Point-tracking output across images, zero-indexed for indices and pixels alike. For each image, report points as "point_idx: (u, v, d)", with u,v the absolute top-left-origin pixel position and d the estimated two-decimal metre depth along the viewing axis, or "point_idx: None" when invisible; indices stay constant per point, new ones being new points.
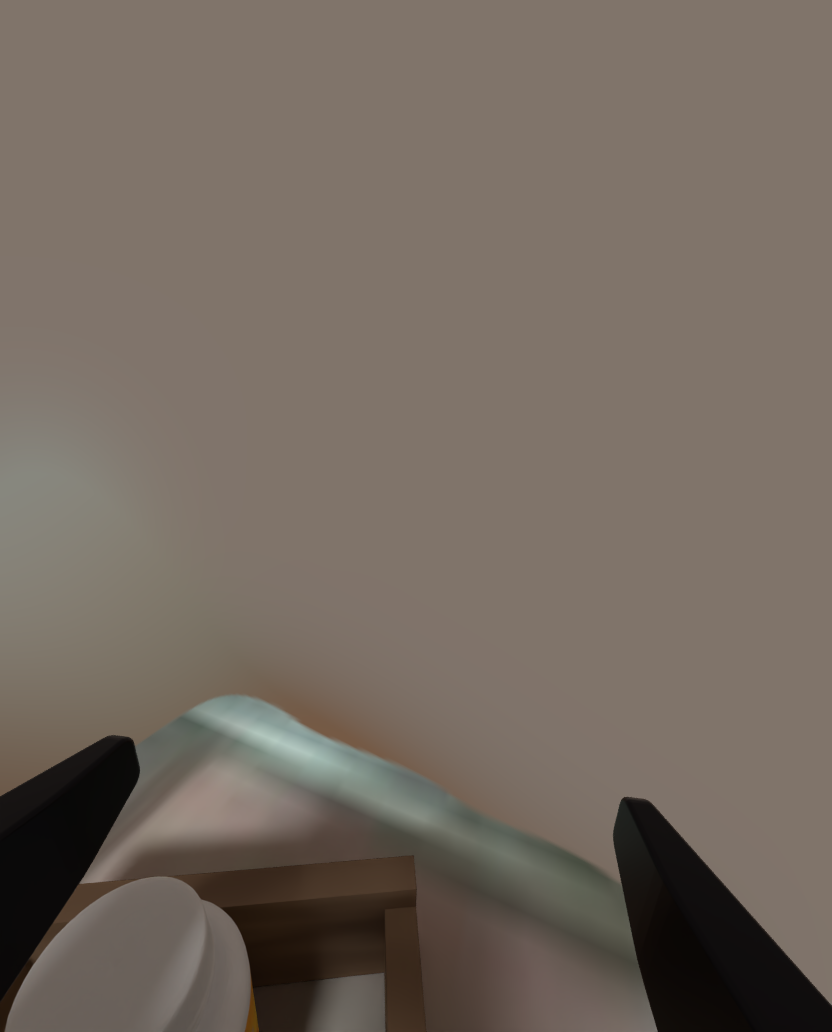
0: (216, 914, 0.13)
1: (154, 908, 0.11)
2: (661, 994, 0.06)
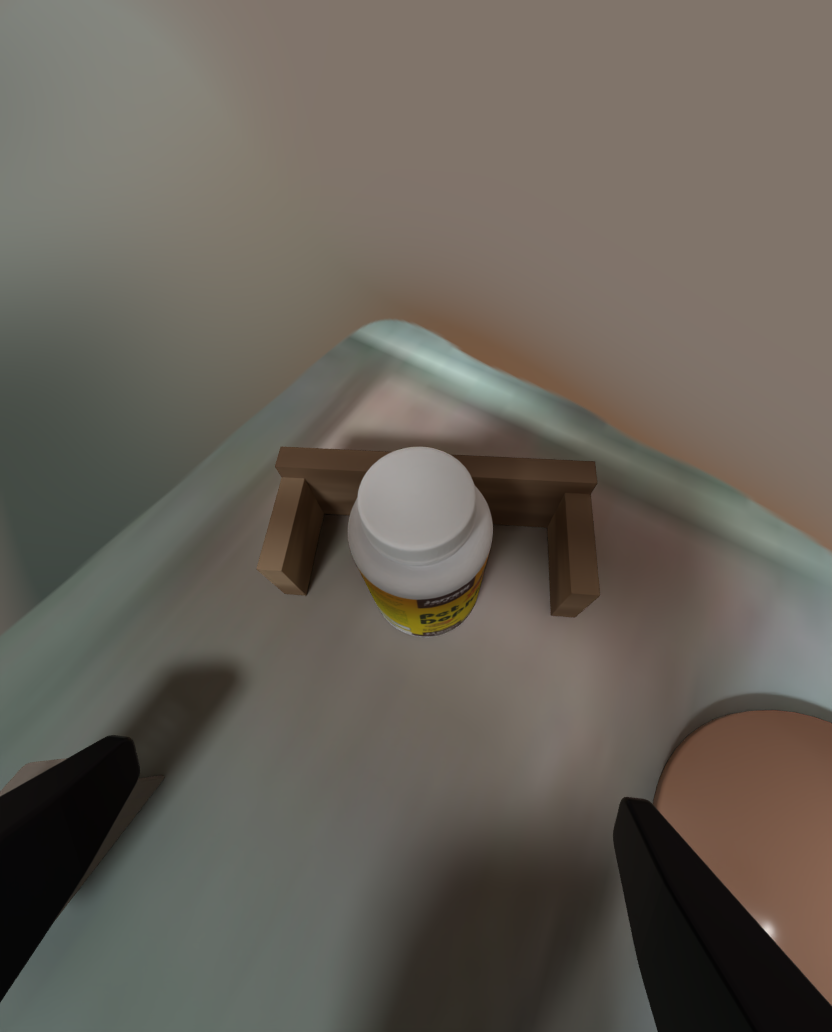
0: None
1: (430, 465, 0.14)
2: (661, 994, 0.06)
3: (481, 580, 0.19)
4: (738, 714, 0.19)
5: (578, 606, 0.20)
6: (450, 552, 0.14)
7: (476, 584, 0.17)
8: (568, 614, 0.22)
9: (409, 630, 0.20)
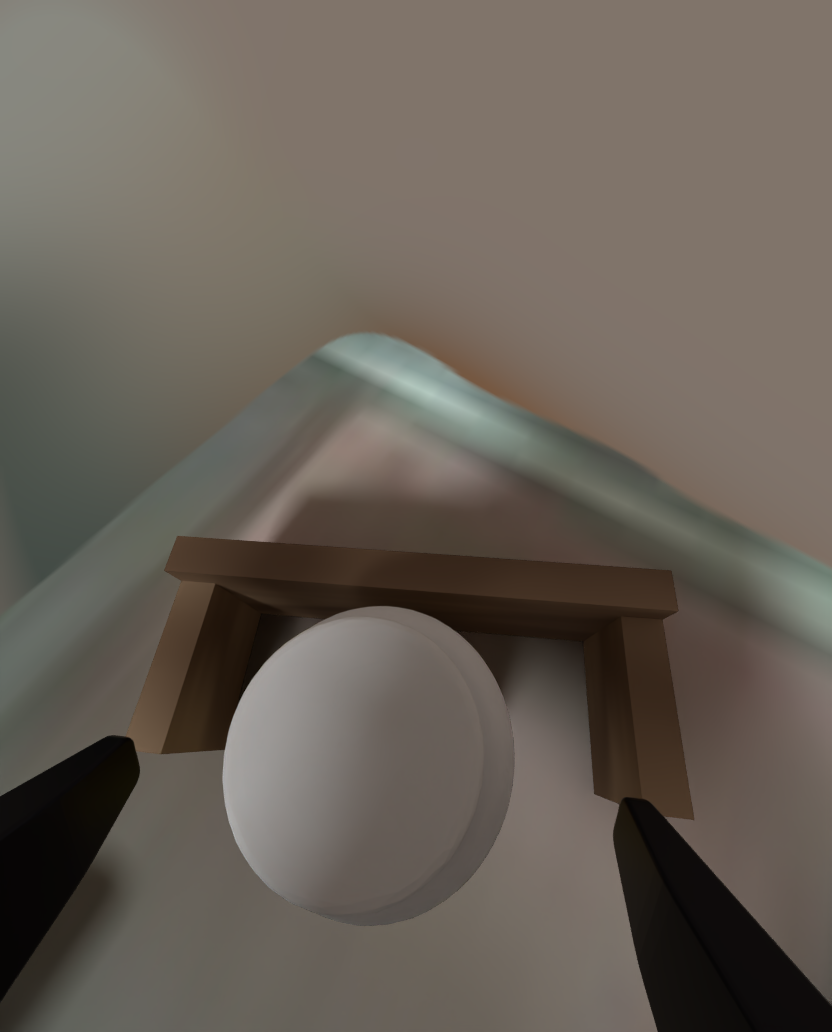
0: (452, 642, 0.09)
1: (387, 668, 0.07)
2: (661, 994, 0.06)
3: None
4: None
5: None
6: None
7: None
8: None
9: None
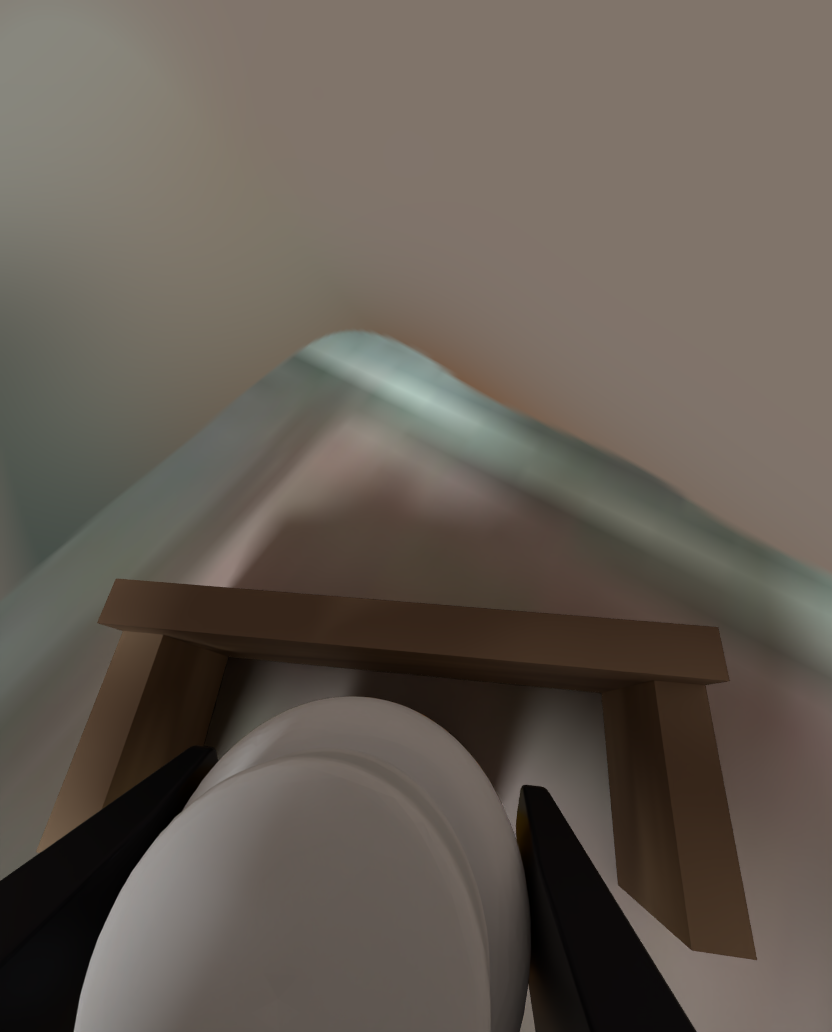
0: (444, 758, 0.07)
1: (340, 856, 0.04)
2: (534, 973, 0.06)
3: None
4: None
5: None
6: None
7: None
8: None
9: None
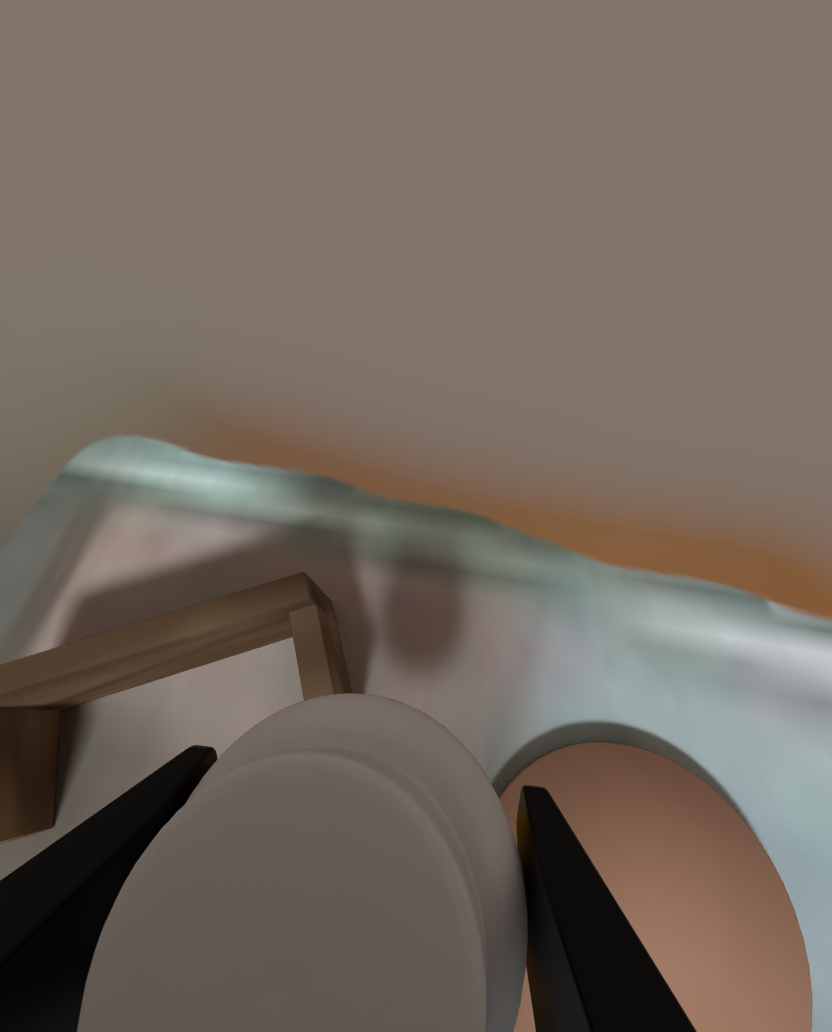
0: (442, 753, 0.07)
1: (338, 848, 0.04)
2: (535, 973, 0.06)
3: None
4: (524, 772, 0.18)
5: None
6: None
7: None
8: None
9: None
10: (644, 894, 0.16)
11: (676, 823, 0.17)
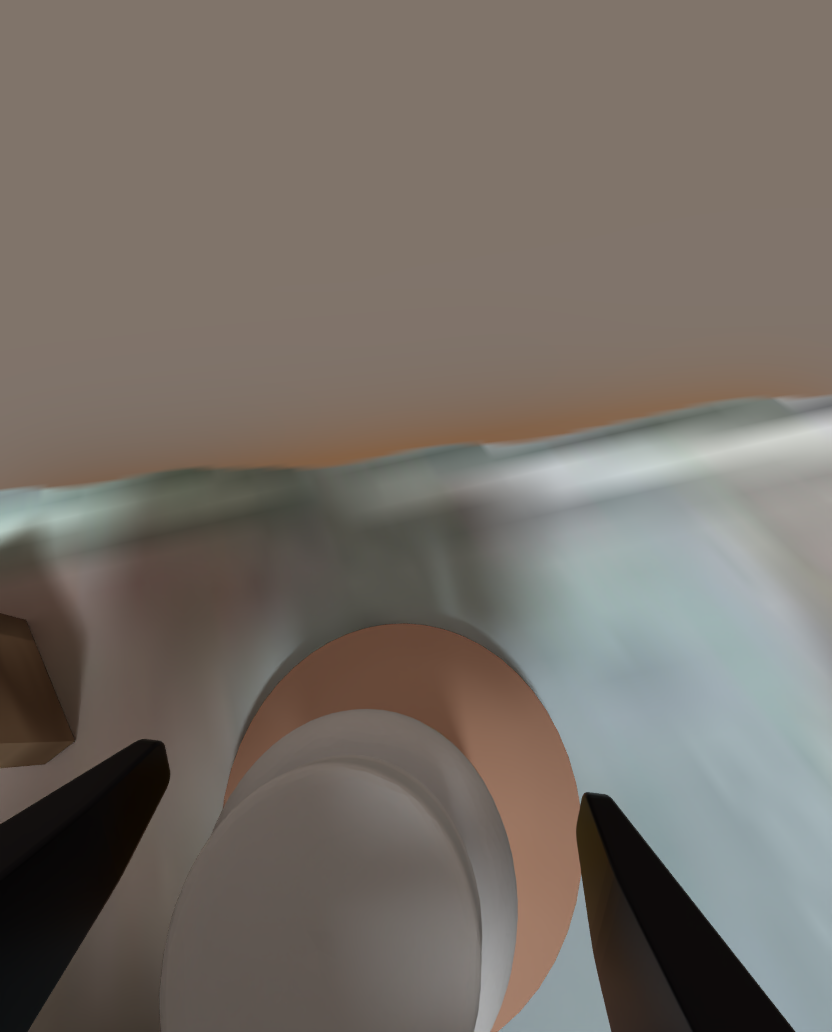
0: (445, 762, 0.08)
1: (363, 840, 0.06)
2: (612, 986, 0.06)
3: None
4: (264, 703, 0.16)
5: (17, 750, 0.15)
6: None
7: None
8: (53, 749, 0.16)
9: None
10: None
11: (425, 682, 0.16)
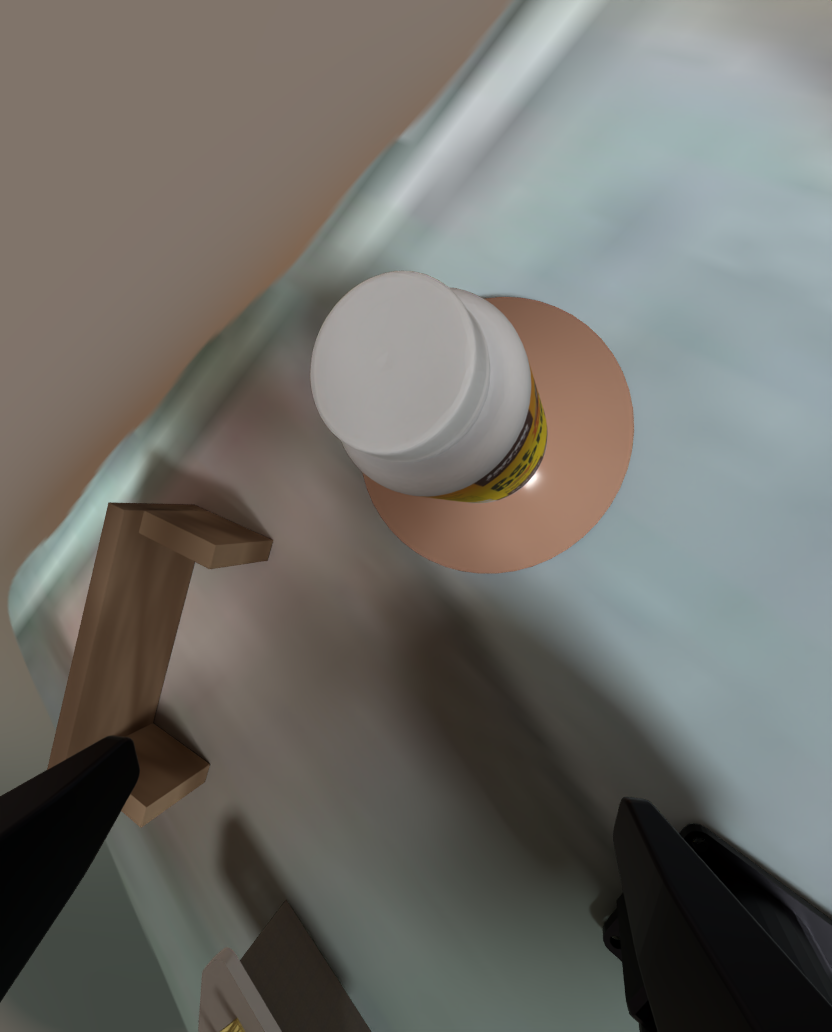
0: None
1: (380, 307, 0.09)
2: (661, 994, 0.06)
3: (539, 401, 0.14)
4: None
5: (244, 549, 0.22)
6: (477, 407, 0.09)
7: (536, 413, 0.12)
8: (265, 548, 0.23)
9: (491, 500, 0.17)
10: None
11: None
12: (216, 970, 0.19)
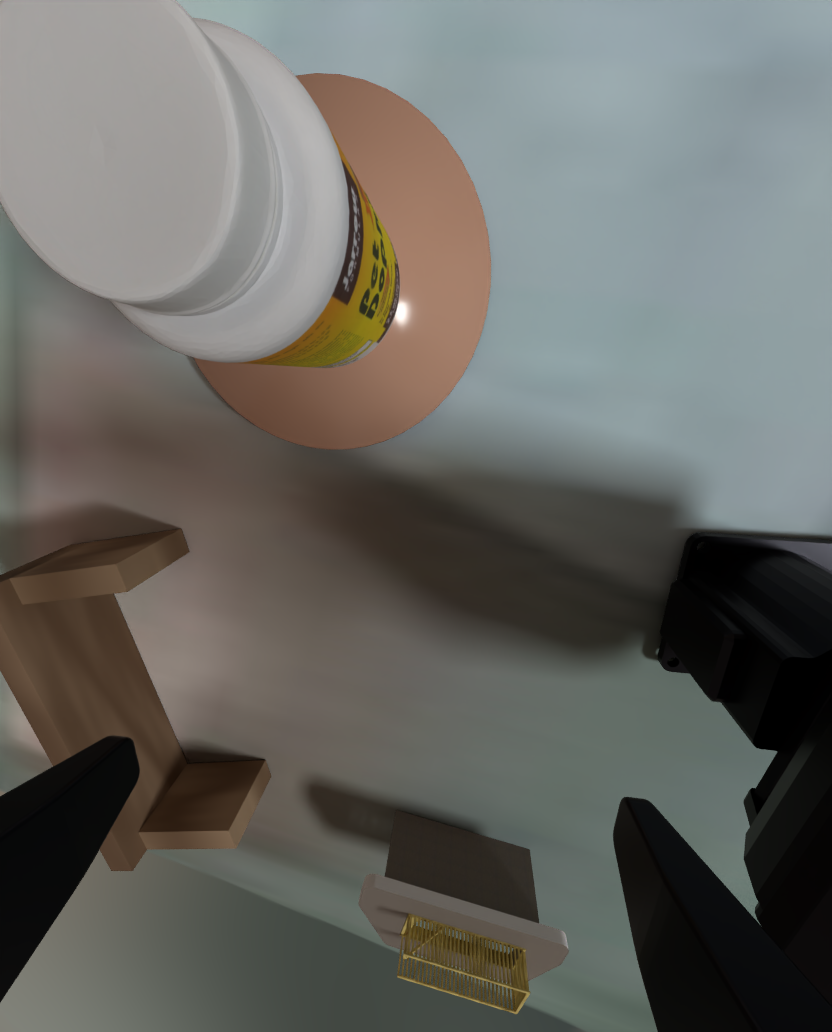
0: None
1: (37, 58, 0.06)
2: (661, 994, 0.06)
3: None
4: (200, 368, 0.17)
5: (154, 553, 0.18)
6: (270, 161, 0.07)
7: (357, 182, 0.10)
8: (177, 540, 0.20)
9: (371, 342, 0.14)
10: None
11: None
12: (369, 895, 0.20)
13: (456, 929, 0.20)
